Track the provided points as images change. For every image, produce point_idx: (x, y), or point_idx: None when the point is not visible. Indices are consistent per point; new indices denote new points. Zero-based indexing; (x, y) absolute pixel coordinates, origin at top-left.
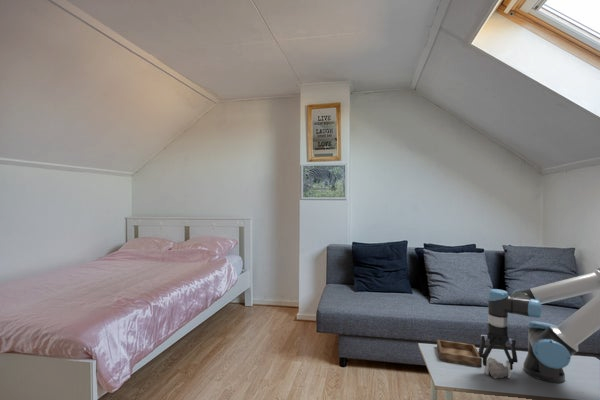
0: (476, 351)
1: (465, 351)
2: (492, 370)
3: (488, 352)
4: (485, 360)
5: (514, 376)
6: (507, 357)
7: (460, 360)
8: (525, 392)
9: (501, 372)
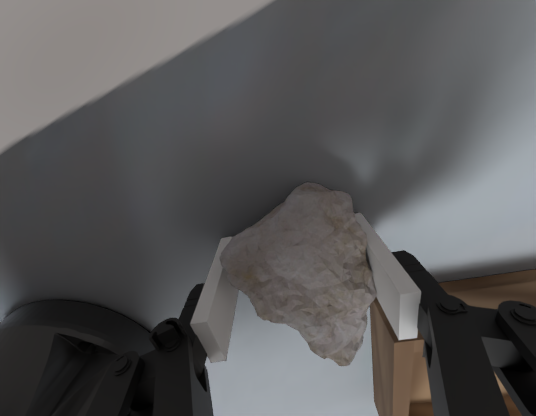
0: (402, 405)
1: (427, 392)
2: (340, 218)
3: (473, 409)
4: (421, 291)
5: (201, 275)
6: (204, 394)
7: (518, 291)
8: (115, 88)
9: (271, 220)
